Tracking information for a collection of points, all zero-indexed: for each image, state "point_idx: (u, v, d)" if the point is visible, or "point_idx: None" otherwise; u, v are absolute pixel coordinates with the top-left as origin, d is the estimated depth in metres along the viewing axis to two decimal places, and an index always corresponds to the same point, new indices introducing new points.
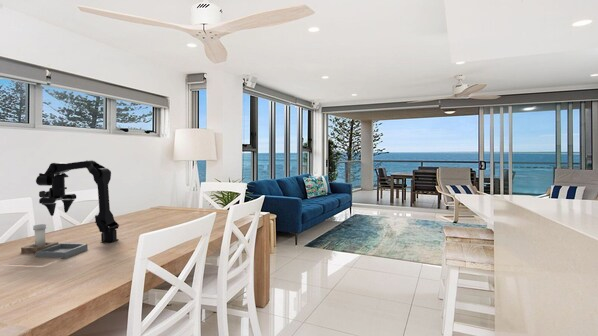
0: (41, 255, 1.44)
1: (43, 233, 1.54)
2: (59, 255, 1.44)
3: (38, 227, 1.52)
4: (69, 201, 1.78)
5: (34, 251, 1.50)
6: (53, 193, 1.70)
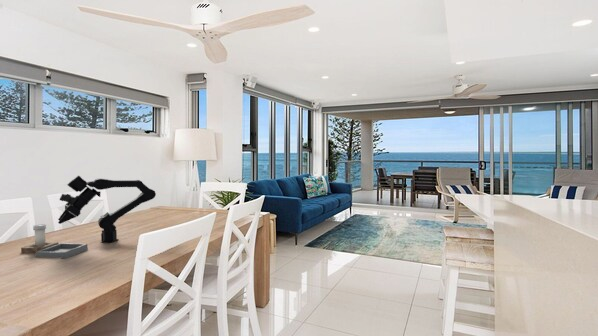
0: (41, 255, 1.44)
1: (43, 233, 1.54)
2: (59, 255, 1.44)
3: (38, 227, 1.52)
4: None
5: (34, 251, 1.50)
6: (77, 203, 1.61)
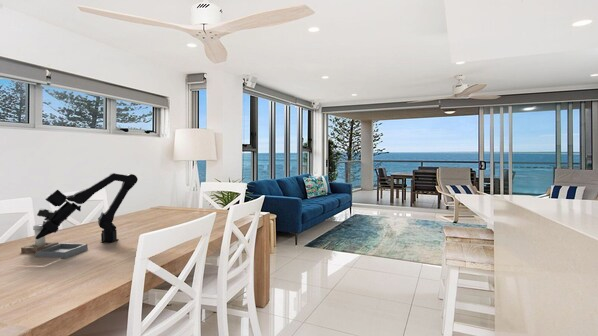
0: (41, 255, 1.44)
1: None
2: (59, 255, 1.44)
3: (38, 227, 1.52)
4: None
5: (34, 251, 1.50)
6: (56, 219, 1.56)
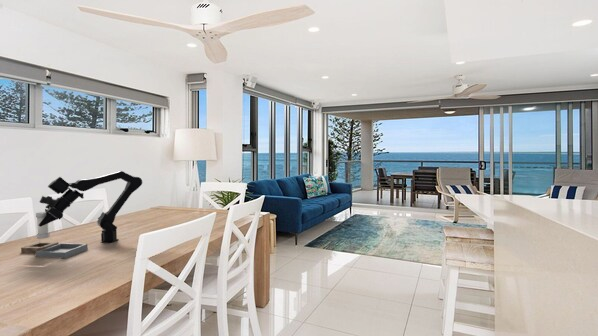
0: (41, 255, 1.44)
1: None
2: (59, 255, 1.44)
3: (41, 214, 1.51)
4: None
5: (34, 251, 1.50)
6: (59, 206, 1.55)
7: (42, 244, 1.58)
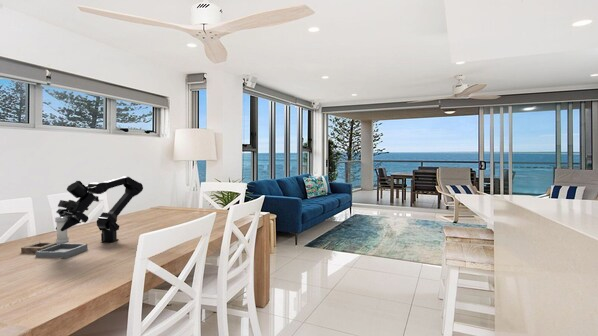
0: (41, 255, 1.44)
1: None
2: (59, 255, 1.44)
3: (63, 219, 1.49)
4: None
5: (34, 251, 1.50)
6: (79, 209, 1.54)
7: (42, 244, 1.58)
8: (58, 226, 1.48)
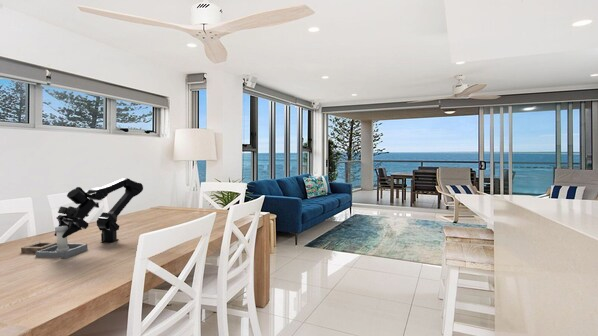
0: (41, 255, 1.44)
1: None
2: (59, 255, 1.44)
3: (63, 228, 1.49)
4: None
5: (34, 251, 1.50)
6: (79, 216, 1.55)
7: (42, 244, 1.58)
8: (58, 236, 1.48)
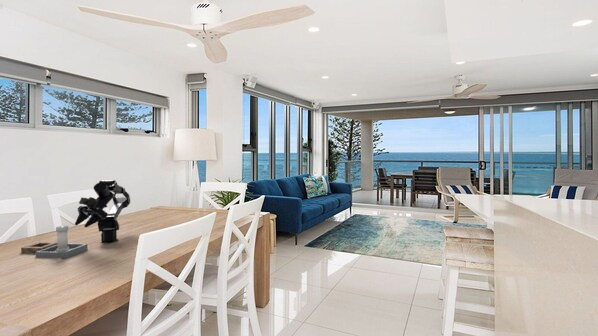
0: (41, 255, 1.44)
1: (67, 234, 1.51)
2: (59, 255, 1.44)
3: (63, 228, 1.49)
4: (87, 216, 1.65)
5: (34, 251, 1.50)
6: (99, 206, 1.63)
7: (42, 244, 1.58)
8: (58, 236, 1.49)
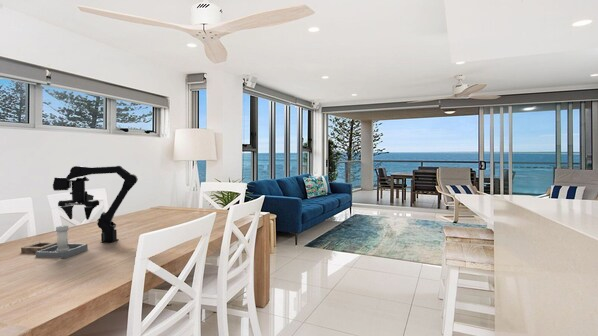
0: (41, 255, 1.44)
1: (67, 234, 1.51)
2: (59, 255, 1.44)
3: (63, 228, 1.49)
4: None
5: (34, 251, 1.50)
6: None
7: (42, 244, 1.58)
8: (58, 236, 1.49)
